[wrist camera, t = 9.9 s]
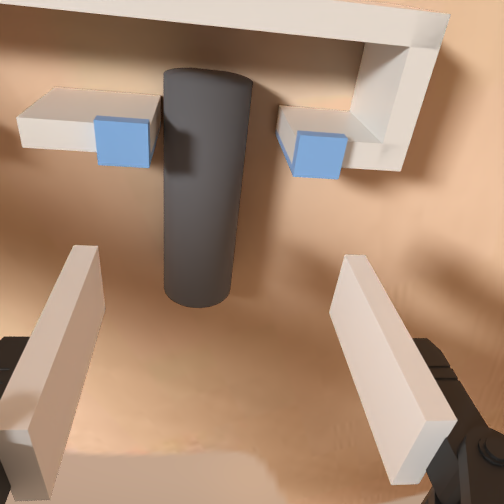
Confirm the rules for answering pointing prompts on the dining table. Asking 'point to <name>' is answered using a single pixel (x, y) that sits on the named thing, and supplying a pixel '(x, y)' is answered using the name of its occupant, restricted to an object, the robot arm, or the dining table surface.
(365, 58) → the white u-shaped bracket
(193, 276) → the dark gray cylinder
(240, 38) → the dining table surface
